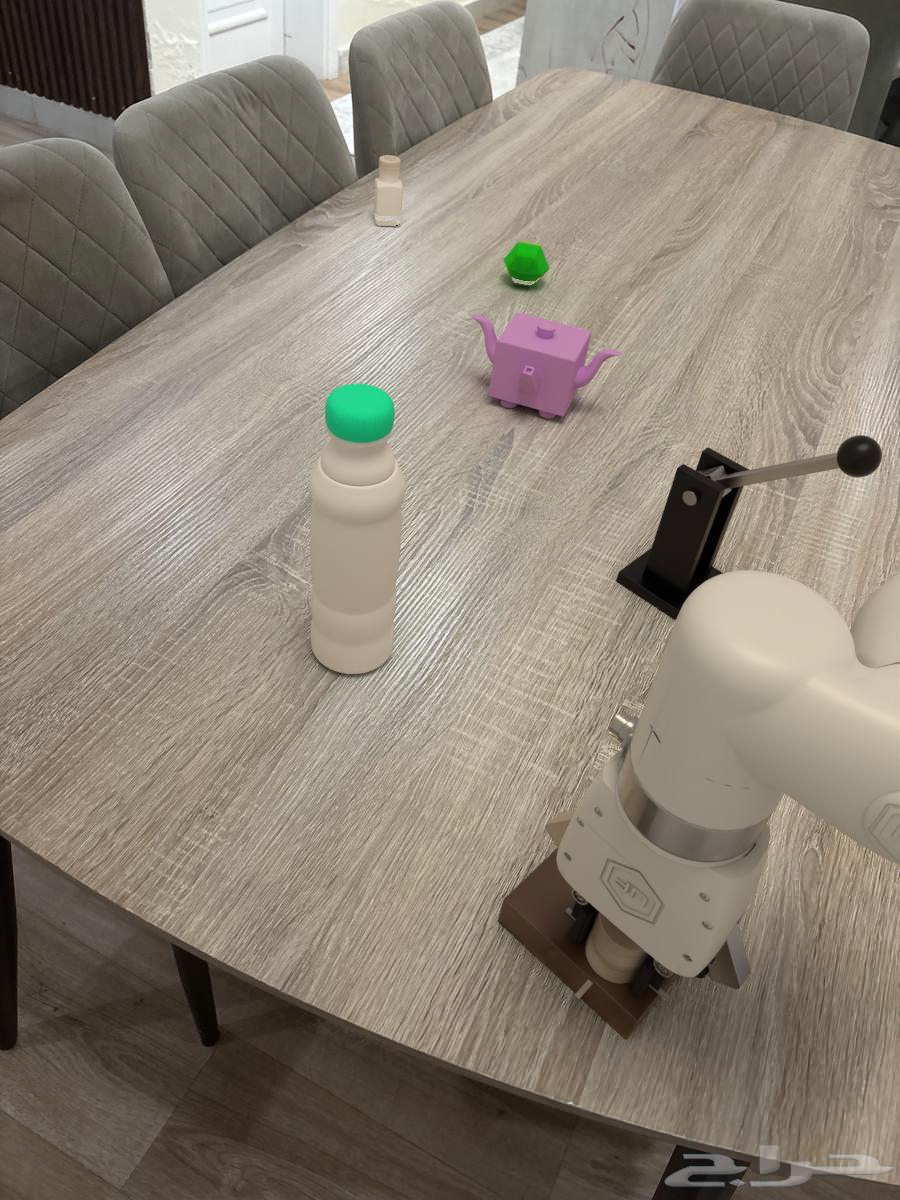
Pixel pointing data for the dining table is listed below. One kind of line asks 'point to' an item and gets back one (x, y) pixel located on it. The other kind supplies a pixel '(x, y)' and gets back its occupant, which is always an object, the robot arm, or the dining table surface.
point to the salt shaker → (388, 189)
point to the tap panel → (571, 947)
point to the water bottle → (355, 532)
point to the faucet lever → (808, 465)
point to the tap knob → (613, 952)
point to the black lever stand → (685, 537)
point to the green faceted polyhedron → (526, 262)
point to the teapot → (539, 363)
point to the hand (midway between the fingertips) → (616, 951)
